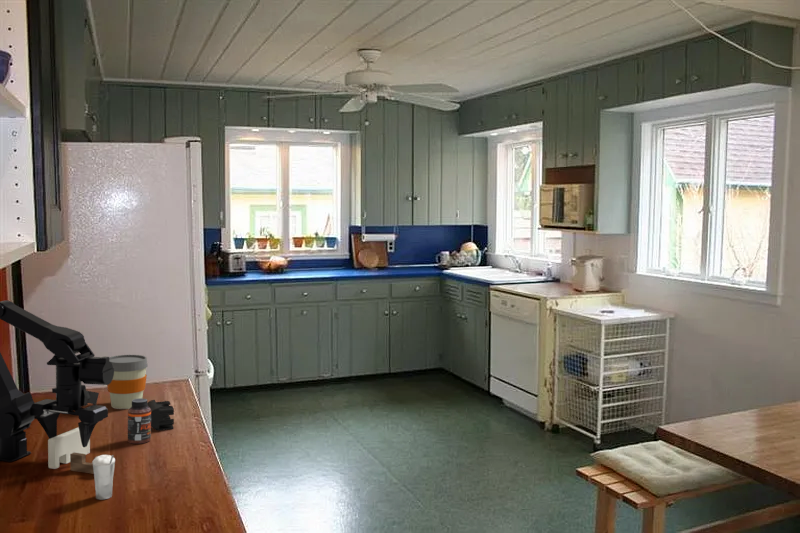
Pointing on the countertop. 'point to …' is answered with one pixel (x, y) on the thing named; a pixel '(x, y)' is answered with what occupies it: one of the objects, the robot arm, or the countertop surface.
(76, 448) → the cream plate
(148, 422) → the supplement bottle
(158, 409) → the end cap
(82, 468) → the brown wooden flat piece
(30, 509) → the countertop surface
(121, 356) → the reusable coffee cup
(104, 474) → the milkshake
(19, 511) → the countertop surface
